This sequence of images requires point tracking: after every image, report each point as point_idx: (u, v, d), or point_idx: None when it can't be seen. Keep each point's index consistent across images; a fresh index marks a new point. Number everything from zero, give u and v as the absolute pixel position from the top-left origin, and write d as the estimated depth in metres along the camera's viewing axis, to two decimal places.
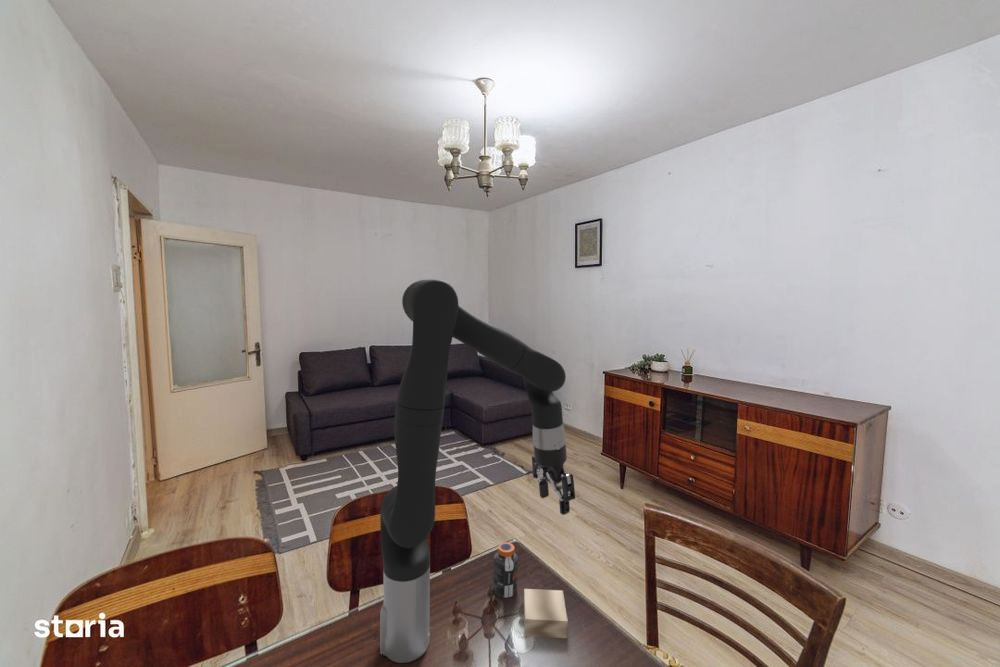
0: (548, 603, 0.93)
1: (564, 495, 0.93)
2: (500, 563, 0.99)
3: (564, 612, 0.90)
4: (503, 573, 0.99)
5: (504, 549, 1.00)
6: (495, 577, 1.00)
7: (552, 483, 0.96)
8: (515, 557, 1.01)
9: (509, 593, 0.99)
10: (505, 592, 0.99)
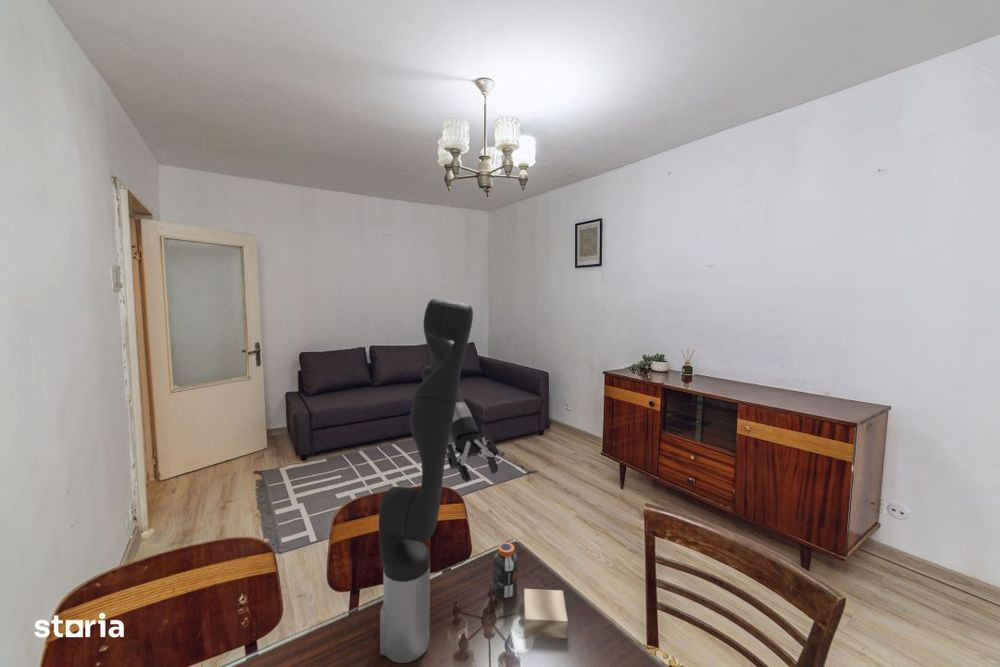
0: (548, 603, 0.93)
1: (494, 448, 1.14)
2: (500, 563, 0.99)
3: (564, 612, 0.90)
4: (503, 573, 0.99)
5: (504, 549, 1.00)
6: (495, 577, 1.00)
7: (482, 446, 1.13)
8: (515, 557, 1.01)
9: (509, 593, 0.99)
10: (505, 592, 0.99)
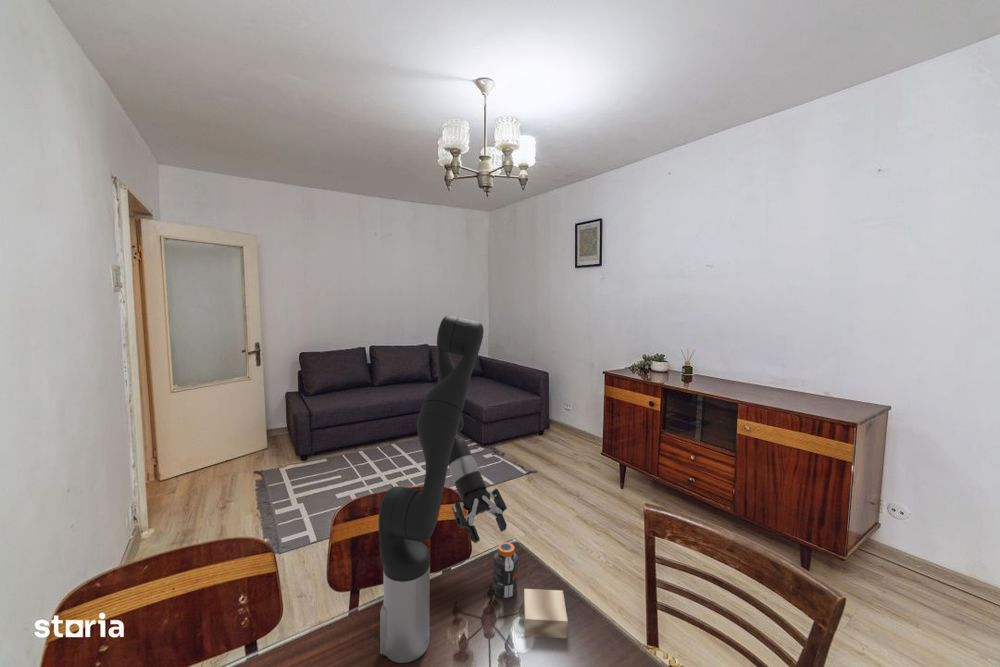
0: (548, 603, 0.93)
1: (502, 504, 1.12)
2: (500, 563, 0.99)
3: (564, 612, 0.90)
4: (503, 573, 0.99)
5: (504, 549, 1.00)
6: (495, 577, 1.00)
7: (490, 502, 1.10)
8: (515, 557, 1.01)
9: (509, 593, 0.99)
10: (505, 592, 0.99)
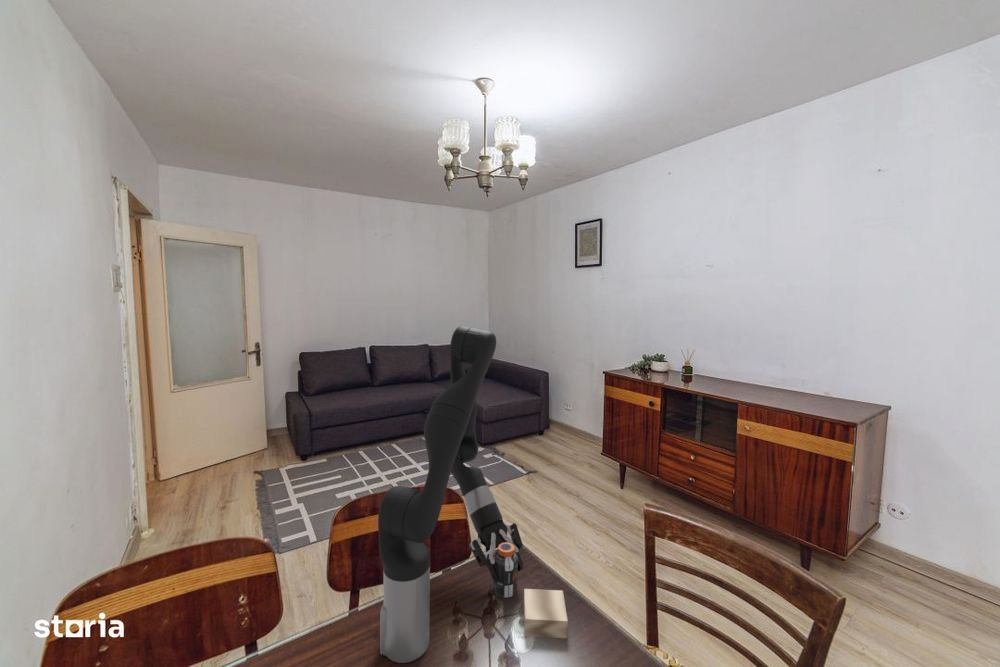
0: (548, 603, 0.93)
1: (519, 541, 1.06)
2: (500, 563, 0.99)
3: (564, 612, 0.90)
4: (503, 573, 0.99)
5: (504, 549, 1.00)
6: None
7: (507, 538, 1.04)
8: (515, 557, 1.01)
9: (509, 593, 0.99)
10: (505, 592, 0.99)
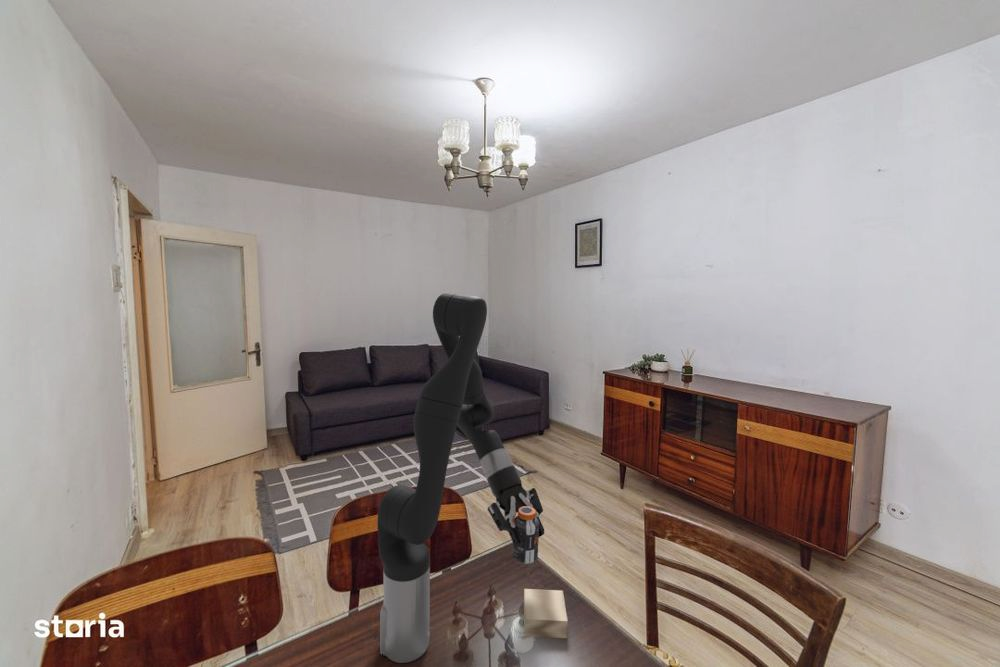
0: (548, 603, 0.93)
1: (539, 505, 1.00)
2: (520, 526, 0.93)
3: (564, 612, 0.90)
4: (524, 537, 0.93)
5: (525, 512, 0.94)
6: None
7: (527, 502, 0.98)
8: (536, 521, 0.95)
9: (530, 558, 0.93)
10: (526, 557, 0.93)
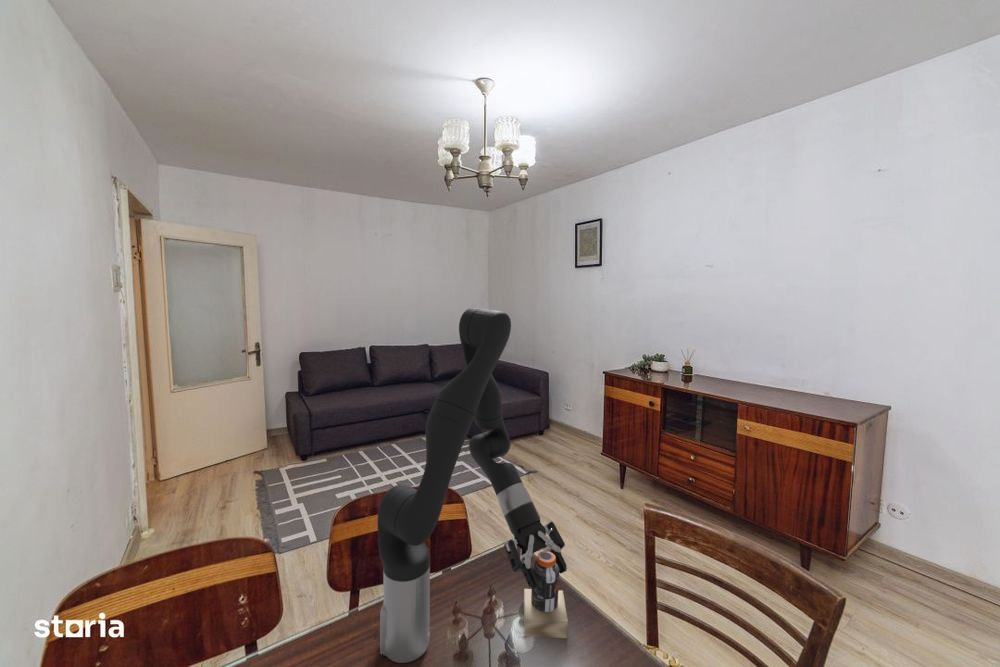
0: None
1: (560, 540, 0.97)
2: (540, 574, 0.89)
3: (564, 612, 0.90)
4: (544, 585, 0.89)
5: (545, 558, 0.91)
6: (534, 589, 0.91)
7: (547, 539, 0.95)
8: (556, 567, 0.91)
9: (550, 607, 0.90)
10: (546, 606, 0.90)
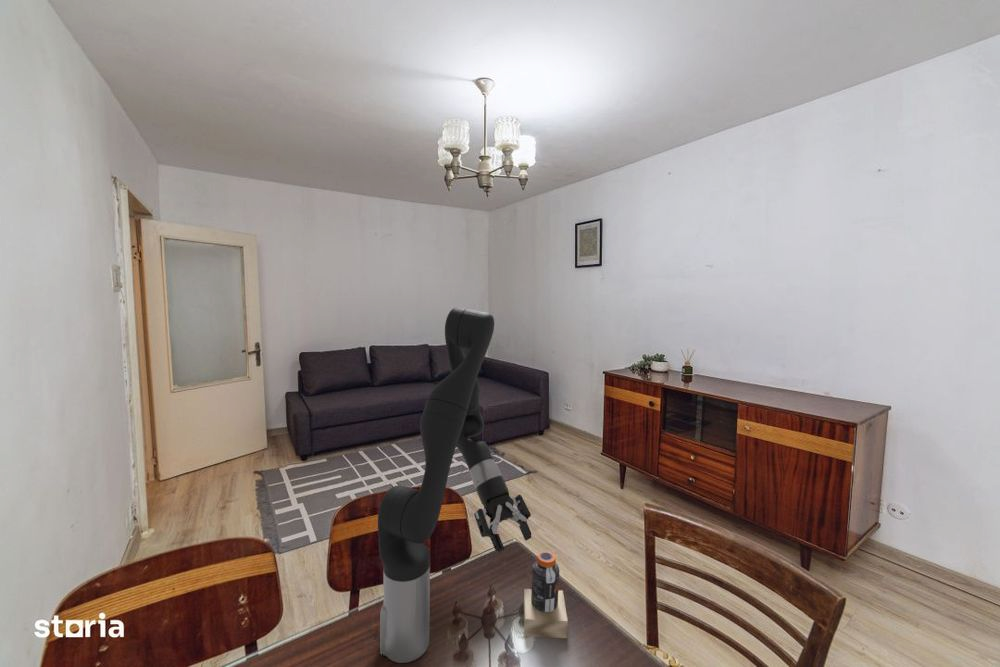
0: None
1: (526, 511, 1.06)
2: (540, 574, 0.89)
3: (564, 612, 0.90)
4: (544, 585, 0.89)
5: (545, 558, 0.91)
6: (534, 589, 0.91)
7: (514, 509, 1.04)
8: (556, 568, 0.91)
9: (550, 607, 0.90)
10: (546, 606, 0.90)
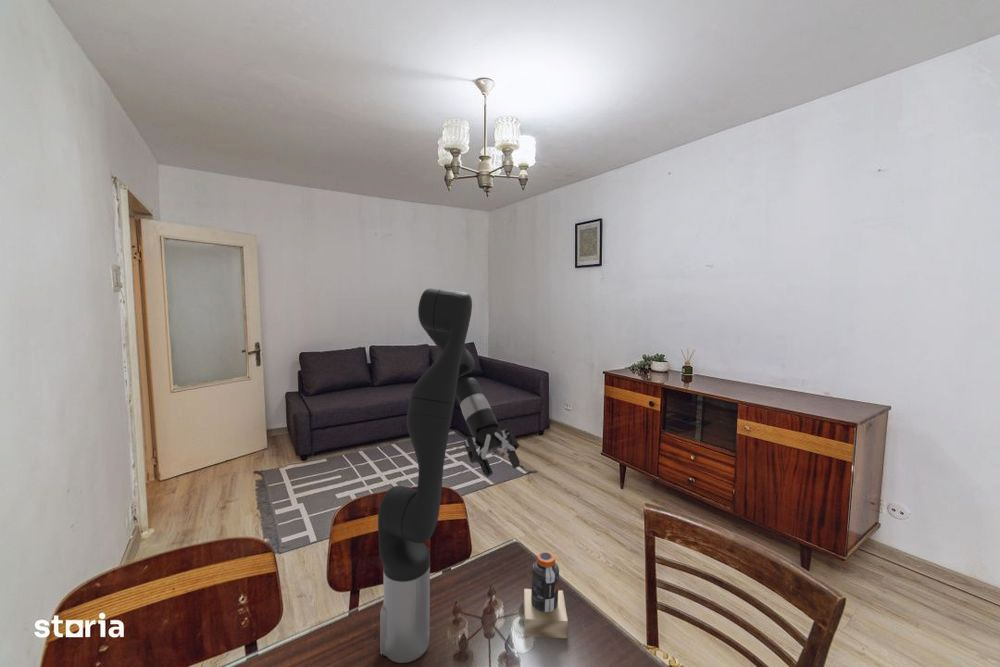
0: None
1: (515, 442, 1.09)
2: (540, 574, 0.89)
3: (564, 612, 0.90)
4: (544, 585, 0.89)
5: (544, 558, 0.91)
6: (534, 589, 0.91)
7: (502, 439, 1.07)
8: (556, 567, 0.91)
9: (550, 607, 0.90)
10: (546, 606, 0.90)
